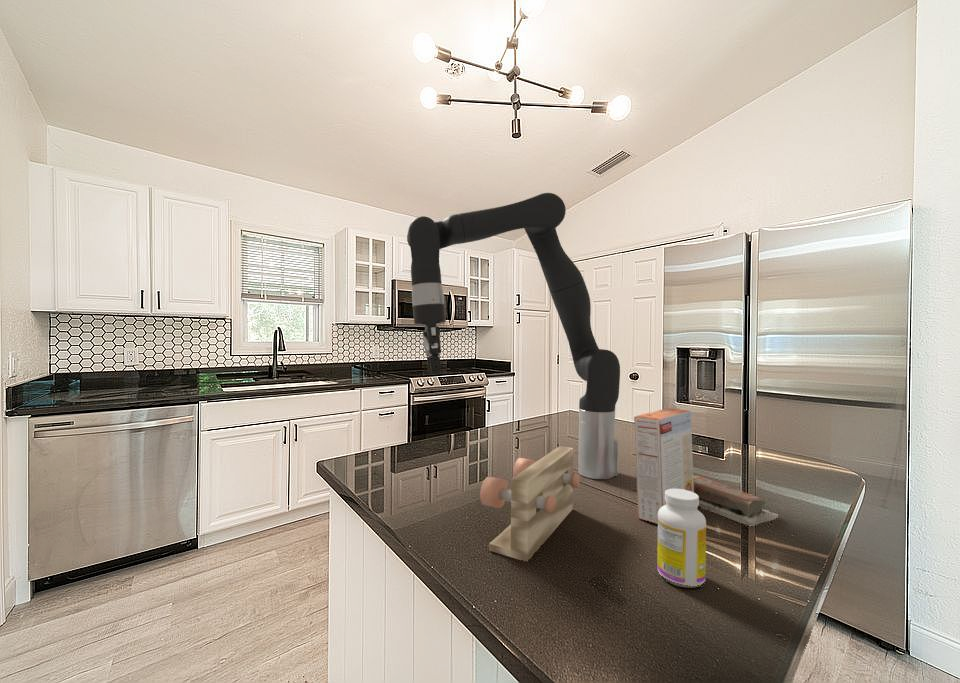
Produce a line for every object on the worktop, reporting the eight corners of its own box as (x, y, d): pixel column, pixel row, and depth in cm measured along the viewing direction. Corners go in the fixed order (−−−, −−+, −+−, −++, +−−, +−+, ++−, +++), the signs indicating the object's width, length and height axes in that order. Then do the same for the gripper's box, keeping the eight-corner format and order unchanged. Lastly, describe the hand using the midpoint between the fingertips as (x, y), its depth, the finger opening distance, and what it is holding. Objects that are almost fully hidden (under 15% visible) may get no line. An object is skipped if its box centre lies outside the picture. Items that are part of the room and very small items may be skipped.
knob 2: (513, 485, 87) (513, 461, 87) (523, 478, 91) (523, 455, 91) (573, 497, 80) (574, 471, 80) (581, 489, 85) (581, 464, 85)
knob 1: (479, 508, 75) (480, 481, 74) (493, 499, 79) (493, 473, 79) (547, 525, 68) (548, 495, 68) (558, 514, 73) (558, 486, 72)
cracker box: (667, 501, 93) (665, 407, 93) (695, 509, 88) (693, 410, 89) (635, 518, 84) (632, 414, 84) (664, 528, 79) (661, 417, 80)
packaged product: (670, 476, 96) (698, 471, 101) (669, 497, 96) (698, 491, 101) (750, 505, 80) (779, 497, 85) (749, 530, 80) (779, 520, 85)
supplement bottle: (694, 567, 66) (696, 487, 66) (713, 592, 60) (715, 503, 60) (651, 564, 67) (652, 485, 67) (665, 589, 61) (666, 501, 60)
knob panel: (489, 550, 71) (490, 474, 71) (541, 502, 92) (542, 443, 91) (527, 562, 67) (528, 481, 67) (572, 509, 88) (573, 448, 88)
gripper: (447, 299, 93) (454, 372, 92) (441, 306, 107) (446, 369, 106) (413, 301, 91) (420, 375, 91) (411, 308, 105) (417, 372, 105)
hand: (434, 372), depth 99 cm, fingers open, 8 cm apart
